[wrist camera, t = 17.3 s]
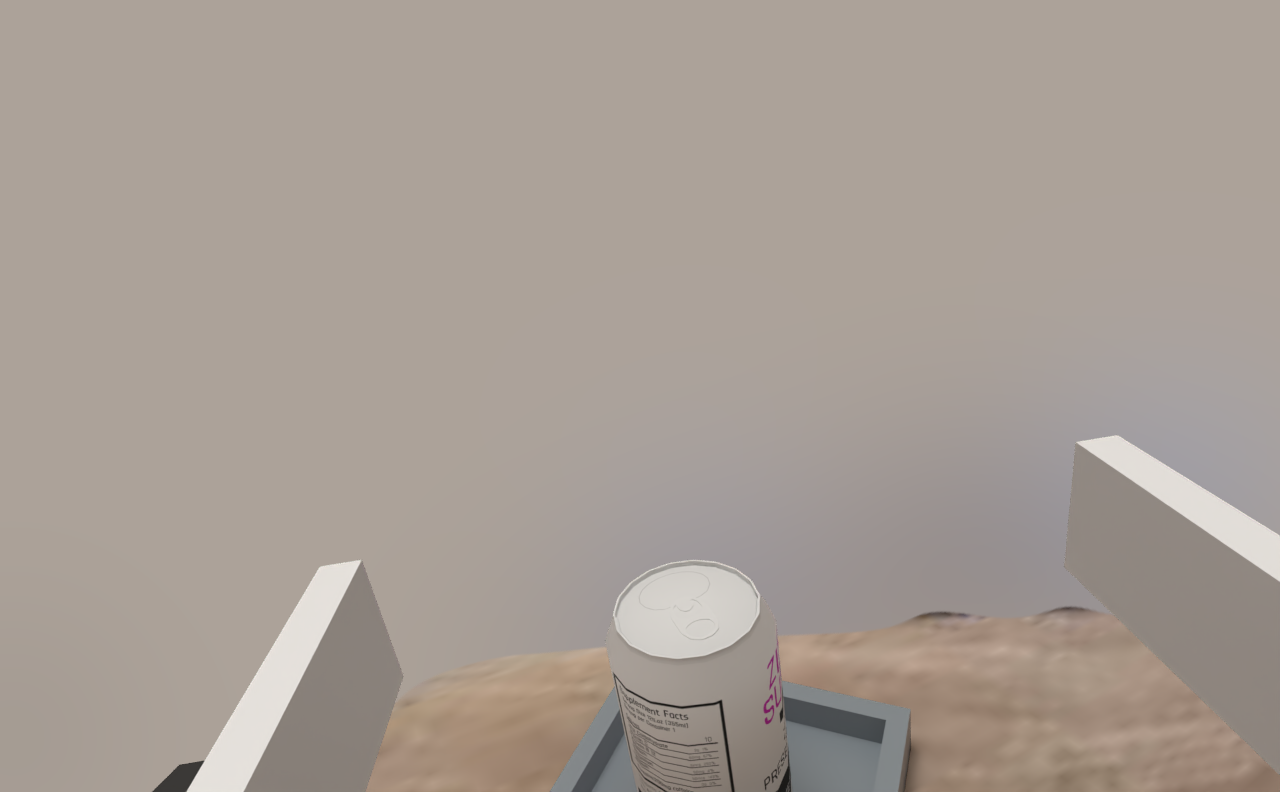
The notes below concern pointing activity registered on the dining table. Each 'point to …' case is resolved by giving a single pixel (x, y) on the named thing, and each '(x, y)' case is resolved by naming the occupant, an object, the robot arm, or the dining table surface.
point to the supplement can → (699, 681)
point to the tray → (817, 743)
